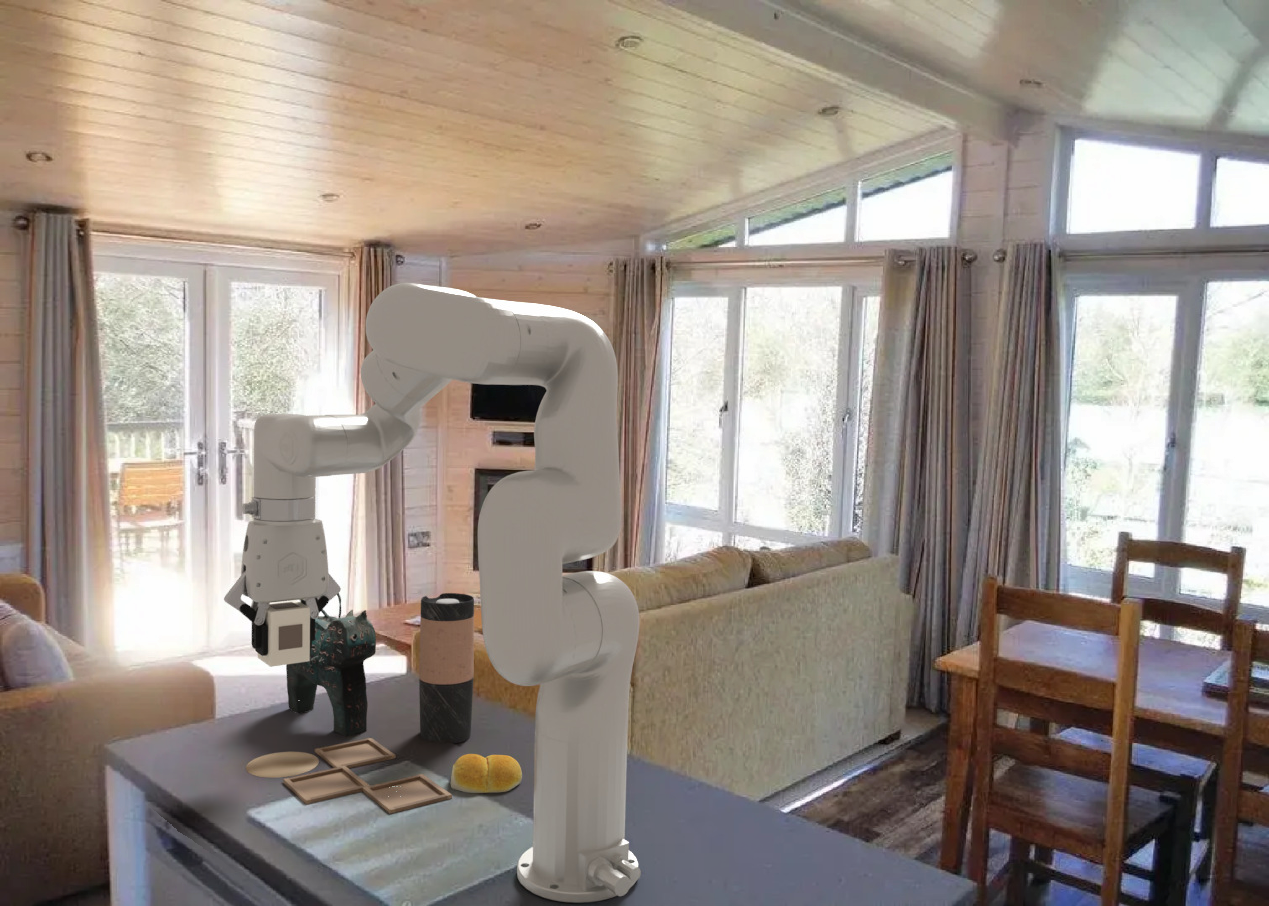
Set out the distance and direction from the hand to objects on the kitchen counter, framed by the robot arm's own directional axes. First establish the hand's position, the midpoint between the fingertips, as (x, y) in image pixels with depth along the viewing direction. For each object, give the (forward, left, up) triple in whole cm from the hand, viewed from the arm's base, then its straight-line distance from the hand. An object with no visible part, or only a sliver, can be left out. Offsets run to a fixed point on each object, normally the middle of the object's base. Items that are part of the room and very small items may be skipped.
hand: (283, 648), depth 133 cm
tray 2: (-10, -2, -16) cm, 19 cm away
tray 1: (-2, -9, -16) cm, 18 cm away
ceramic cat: (+14, -11, -16) cm, 24 cm away
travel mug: (-1, -23, -16) cm, 28 cm away
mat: (0, 0, -16) cm, 16 cm away
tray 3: (-18, -9, -16) cm, 25 cm away
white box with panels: (0, 0, -1) cm, 1 cm away
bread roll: (-19, -19, -16) cm, 31 cm away
